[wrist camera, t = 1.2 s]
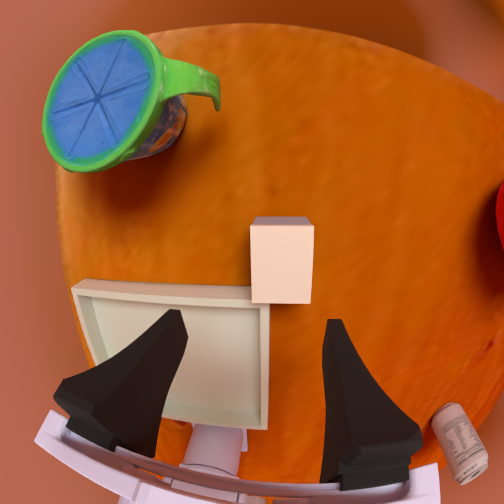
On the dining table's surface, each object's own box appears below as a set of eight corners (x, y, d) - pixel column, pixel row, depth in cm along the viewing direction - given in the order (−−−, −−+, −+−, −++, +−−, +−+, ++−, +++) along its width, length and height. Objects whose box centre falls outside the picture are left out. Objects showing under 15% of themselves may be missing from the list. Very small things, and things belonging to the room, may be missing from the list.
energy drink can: (425, 428, 31) (450, 492, 16) (434, 407, 29) (466, 475, 15) (453, 417, 30) (481, 475, 16) (462, 395, 29) (498, 456, 14)
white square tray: (268, 413, 31) (267, 429, 28) (121, 392, 33) (112, 404, 30) (270, 286, 26) (269, 300, 23) (85, 278, 28) (70, 287, 25)
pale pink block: (304, 279, 26) (310, 303, 21) (256, 279, 26) (251, 303, 21) (306, 216, 24) (314, 226, 19) (255, 216, 24) (250, 226, 20)
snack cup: (236, 66, 21) (212, 9, 11) (227, 172, 23) (193, 170, 14) (98, 83, 22) (37, 61, 12) (89, 173, 25) (20, 180, 15)
